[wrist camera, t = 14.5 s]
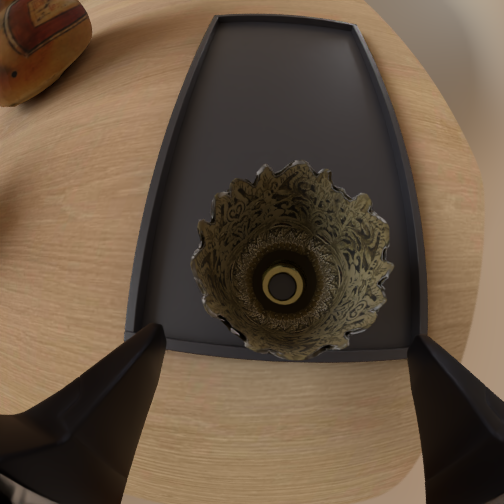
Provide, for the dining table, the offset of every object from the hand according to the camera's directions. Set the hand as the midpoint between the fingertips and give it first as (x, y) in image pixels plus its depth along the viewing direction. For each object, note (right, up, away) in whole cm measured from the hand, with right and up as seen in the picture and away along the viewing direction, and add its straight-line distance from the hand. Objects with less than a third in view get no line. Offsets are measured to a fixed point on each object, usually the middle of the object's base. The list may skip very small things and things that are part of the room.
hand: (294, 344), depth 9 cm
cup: (+1, +1, +9) cm, 9 cm away
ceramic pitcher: (-35, +33, +20) cm, 52 cm away
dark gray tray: (+2, +15, +13) cm, 20 cm away
